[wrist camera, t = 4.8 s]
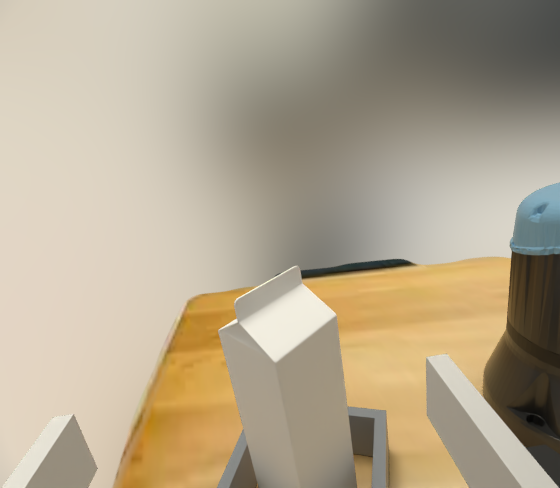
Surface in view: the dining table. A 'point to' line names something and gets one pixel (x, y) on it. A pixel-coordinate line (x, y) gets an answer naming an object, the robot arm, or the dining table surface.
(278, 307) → the milk
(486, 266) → the dining table surface
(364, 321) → the dining table surface
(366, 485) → the dining table surface
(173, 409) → the dining table surface
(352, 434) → the housing
